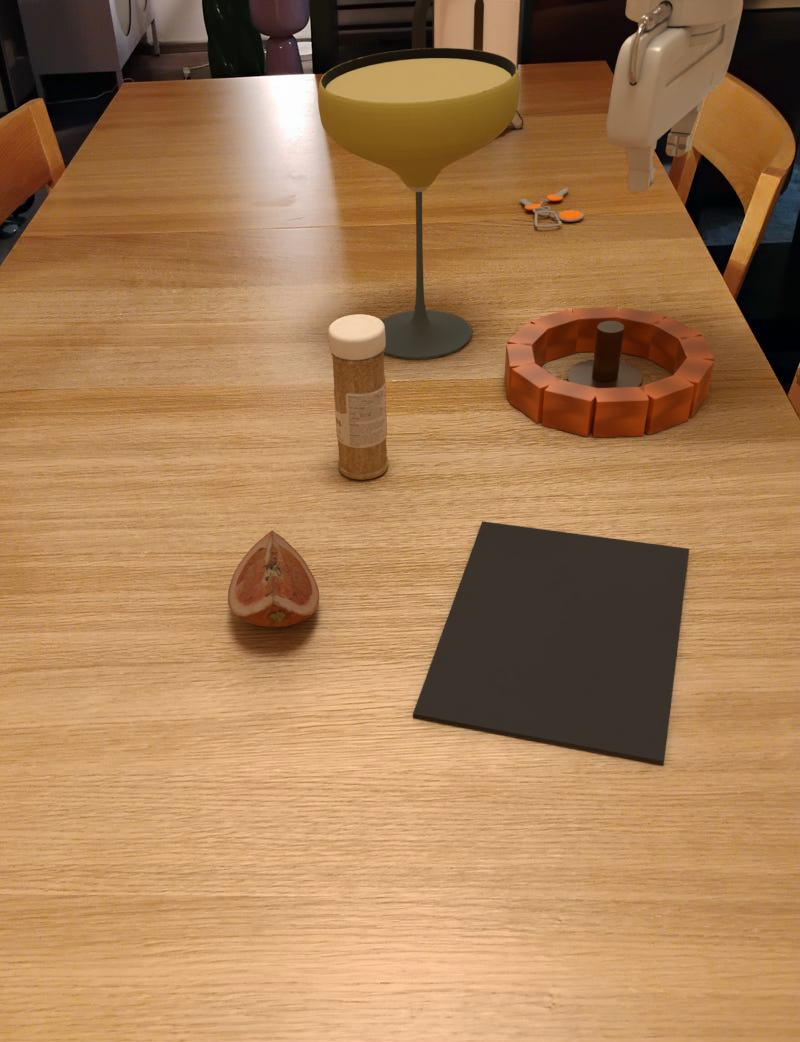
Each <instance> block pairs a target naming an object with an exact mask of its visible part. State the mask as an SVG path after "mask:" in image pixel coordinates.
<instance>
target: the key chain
mask: <svg viewBox="0 0 800 1042" xmlns="http://www.w3.org/2000/svg"><path fill="white" fill-rule="evenodd" d="M570 190H571V189H570V188H569V187H563V188H562V189H561V190H559V191H558V192H557V193H554V194H553V193H552V194H548V195H547V196H546V199H544V200H542V201H540V203H538V202H537V203H534V202H533V203H532V202H530V200H528V199H527V198H520V199H519V200H518V202H520V204H521V205H523V206H524V209H525V210H526V211H532V212H533V214H534V221H533V222H534V226H535V228H540V229H541V228H542V229H548V228H549V229H551V228H556V227H557V228H558V227H562V226H563V222H568V223H572V222H578V221H581V220H583V219H584V217H585V214H584V213H583V212H582V211H579V210H572V209H569V210H563V211H560V212H559V211H556V210H551V206H548V205H543V204H545V203H547V202H548V203H549V202H557V201H562V200H563V199H564V195H567V193H568V192H570ZM540 216H541V217H548V216H550V217H551V218H552V219H556V220H557V222H558V223H554V224H539V222H538V221H539V220H538V218H539V217H540Z"/></svg>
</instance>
